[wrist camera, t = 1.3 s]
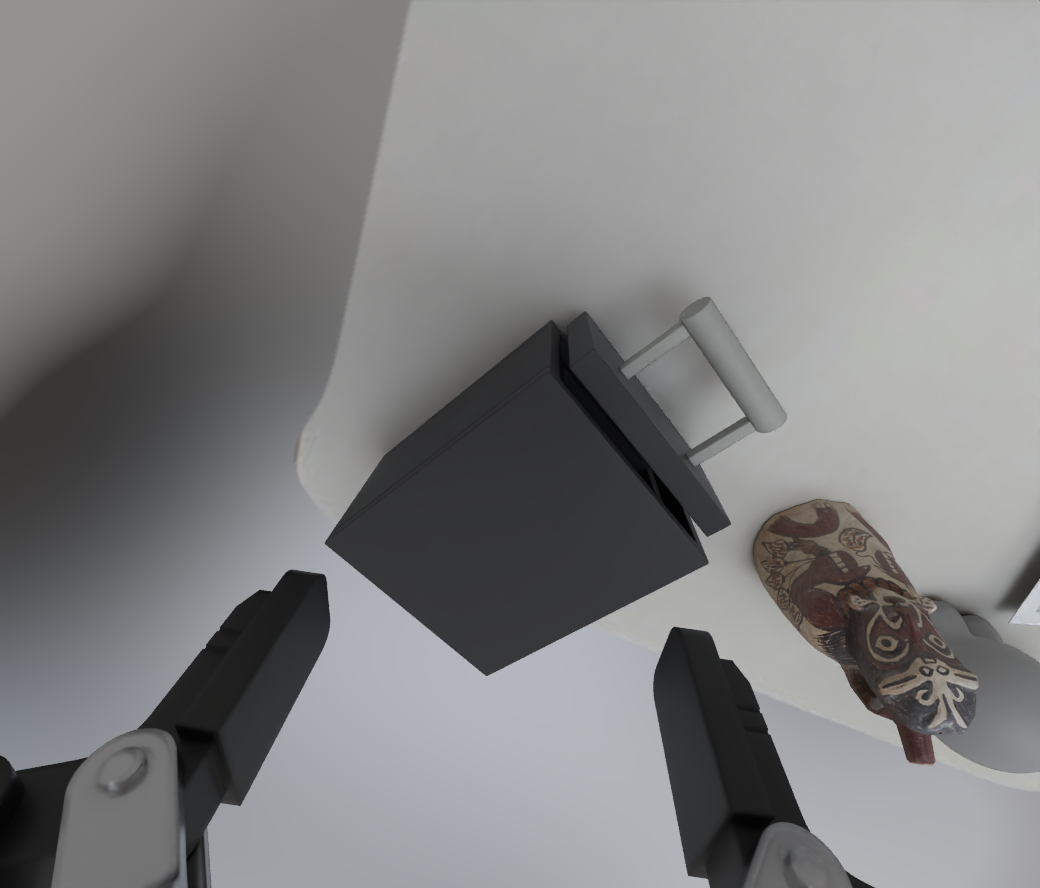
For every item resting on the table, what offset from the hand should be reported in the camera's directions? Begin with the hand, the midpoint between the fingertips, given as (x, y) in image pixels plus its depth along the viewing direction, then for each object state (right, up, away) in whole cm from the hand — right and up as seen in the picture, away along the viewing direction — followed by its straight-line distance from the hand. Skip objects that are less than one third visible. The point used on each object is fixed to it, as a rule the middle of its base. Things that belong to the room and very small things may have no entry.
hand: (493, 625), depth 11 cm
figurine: (+19, -2, +19) cm, 27 cm away
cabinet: (+1, +3, +18) cm, 18 cm away
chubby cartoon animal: (+31, -10, +22) cm, 40 cm away
